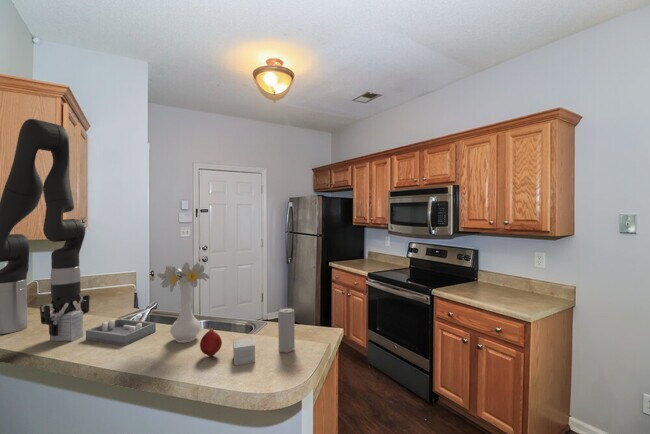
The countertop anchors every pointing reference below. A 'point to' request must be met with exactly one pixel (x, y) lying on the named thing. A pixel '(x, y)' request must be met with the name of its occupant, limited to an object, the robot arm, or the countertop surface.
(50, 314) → the robot arm
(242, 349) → the small box
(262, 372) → the countertop surface
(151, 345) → the countertop surface
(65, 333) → the medicine box
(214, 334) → the onion
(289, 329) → the beverage can
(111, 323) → the tray
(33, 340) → the countertop surface
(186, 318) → the flower vase
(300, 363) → the countertop surface
